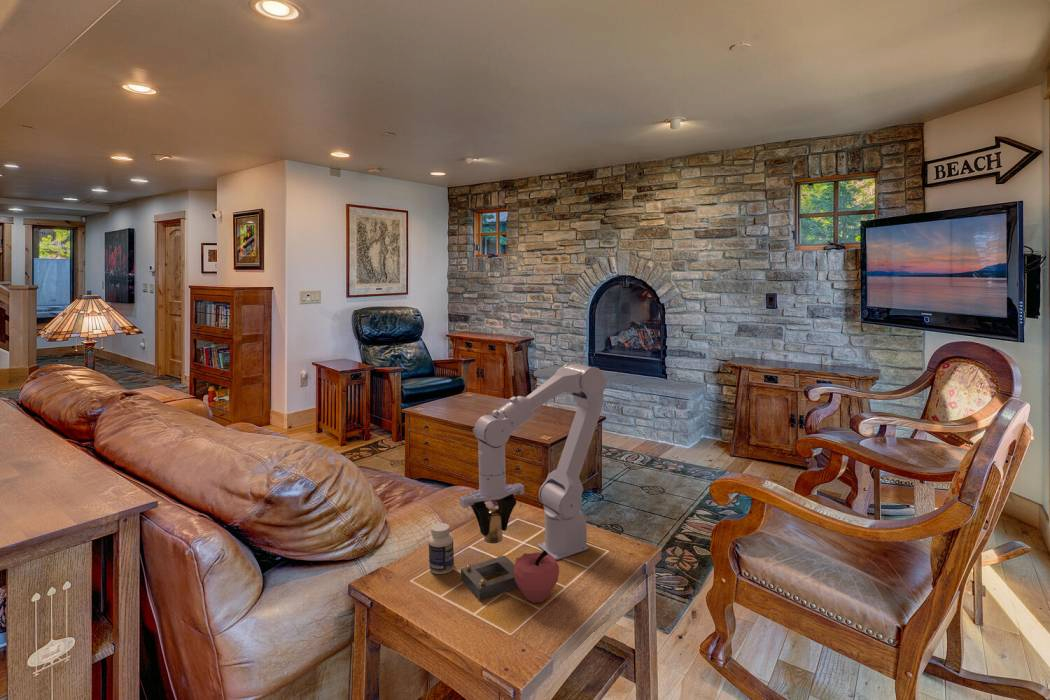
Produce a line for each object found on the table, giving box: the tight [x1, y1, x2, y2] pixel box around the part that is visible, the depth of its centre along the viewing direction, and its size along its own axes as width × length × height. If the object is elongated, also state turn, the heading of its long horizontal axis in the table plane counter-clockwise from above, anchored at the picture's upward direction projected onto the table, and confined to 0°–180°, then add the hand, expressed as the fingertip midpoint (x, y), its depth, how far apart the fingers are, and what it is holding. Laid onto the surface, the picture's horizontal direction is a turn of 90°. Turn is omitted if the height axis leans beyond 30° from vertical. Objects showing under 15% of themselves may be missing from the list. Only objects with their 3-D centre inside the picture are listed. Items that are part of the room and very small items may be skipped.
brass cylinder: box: [483, 507, 504, 544], centre depth 120 cm, size 4×4×6 cm
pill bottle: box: [428, 522, 455, 575], centre depth 122 cm, size 5×5×10 cm
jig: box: [460, 555, 519, 601], centre depth 116 cm, size 11×9×4 cm
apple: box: [513, 550, 560, 604], centre depth 110 cm, size 10×9×10 cm
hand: (493, 531), depth 120 cm, fingers closed on brass cylinder, 4 cm apart
